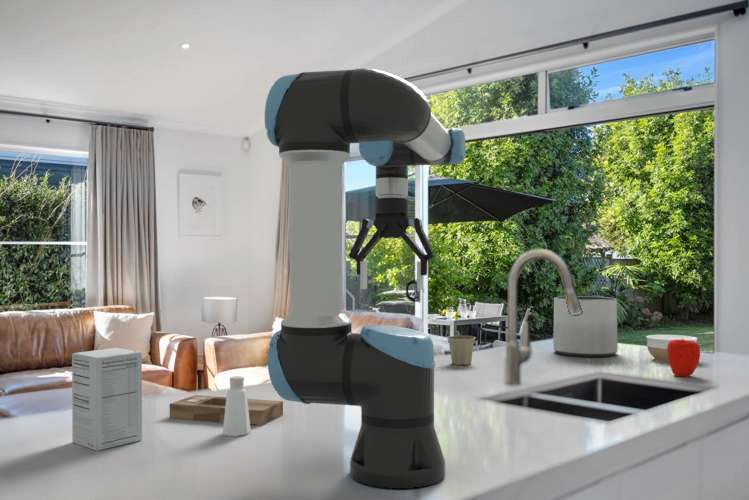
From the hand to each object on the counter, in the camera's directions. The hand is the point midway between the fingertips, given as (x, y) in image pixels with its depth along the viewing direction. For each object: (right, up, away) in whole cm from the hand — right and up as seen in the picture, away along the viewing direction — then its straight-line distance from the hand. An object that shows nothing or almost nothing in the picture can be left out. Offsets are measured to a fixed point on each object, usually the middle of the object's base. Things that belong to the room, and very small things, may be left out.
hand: (391, 289), depth 160 cm
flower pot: (+24, -28, +64) cm, 74 cm away
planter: (+72, -28, +89) cm, 118 cm away
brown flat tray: (-36, -27, -10) cm, 46 cm away
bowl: (+96, -28, +73) cm, 124 cm away
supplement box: (-54, -27, -30) cm, 68 cm away
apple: (+87, -28, +43) cm, 100 cm away
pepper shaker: (-31, -27, -24) cm, 48 cm away
